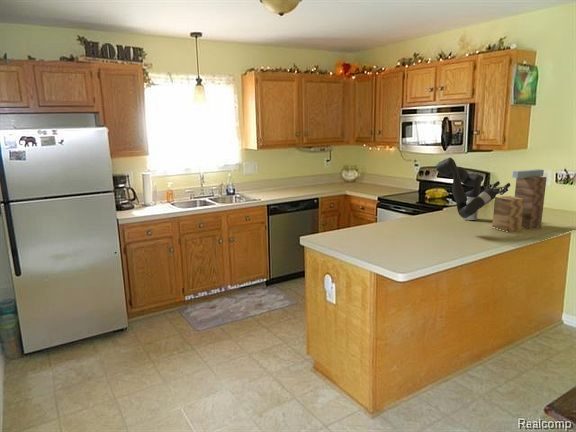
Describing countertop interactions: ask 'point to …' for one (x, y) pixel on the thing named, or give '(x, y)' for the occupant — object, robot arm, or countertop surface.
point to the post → (531, 200)
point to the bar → (528, 173)
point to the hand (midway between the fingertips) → (504, 183)
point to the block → (508, 213)
